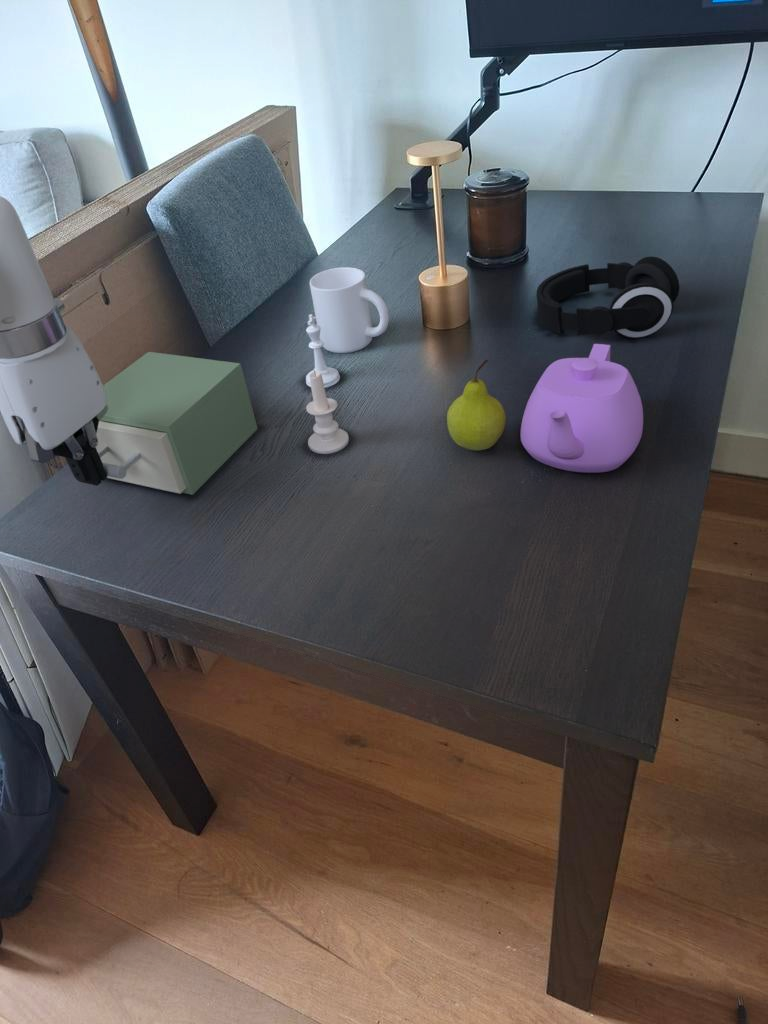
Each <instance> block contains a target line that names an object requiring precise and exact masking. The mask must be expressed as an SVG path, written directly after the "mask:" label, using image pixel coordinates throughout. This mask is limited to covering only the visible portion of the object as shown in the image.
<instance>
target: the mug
mask: <svg viewBox="0 0 768 1024" xmlns="http://www.w3.org/2000/svg"><path fill="white" fill-rule="evenodd" d="M309 289H310V293H311V294H310V295H311V298H312V304H313V311H314V317H316V320H315V322H316V325H318V326H320V328H321V330H320V337H319V340H321V341H323V343H324V345H323V346H322V348H323V349H324V350H326V351H327V352H329V353H334V354H350V353H354V352H358V351H360V350H363V349H364V348H366V347H368V345H370V344H371V342H372V340H373V338H375V337H379V336H382V334H384V333H385V332H386V331H387V328H388V327H389V320H390V316H389V310H388V307H387V305H386V303H385V301H384V300H383V298H382V297H381V296H380V294H378V293H376V292H375V291H374V290H371V289H368V285H367V277H366V273H365V271H363V270H362V269H361V268H360V269H359V268H357V267H351V266H349V267H348V266H343V267H342V266H341V267H334V268H330V269H326V270H322V271H320V272H317V273H316V274H314V275H313V276H312V277H311V278H310V279H309ZM370 303H372V304H373V305H374V306H375V307H376V309H377V311H378V314H379V323H378V325H377V326H373V322H372V316H371V307H370Z"/></svg>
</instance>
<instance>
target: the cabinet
mask: <svg viewBox="0 0 768 1024" xmlns="http://www.w3.org/2000/svg"><path fill="white" fill-rule="evenodd" d="M103 387H104V390H105V393H106V397H107V403H106V405H107V406H108V411H107V413H106V414H105V415H104V416H103V418H102V419H101V420H102V421H107V422H113V423H118V424H124V425H129V426H135V427H141V428H146V429H152V430H157V431H163V432H165V433H167V435H168V438H169V441H170V443H171V446H172V449H173V452H174V455H175V458H176V460H177V463H178V466H179V469H180V472H181V474H182V477H183V480H184V483H185V486H186V489H185V490H184V491H183V492H182V493H181V494H187V495H191V496H193V495H195V493H196V492H198V491H199V490H200V488H202V486H203V485H204V484H205V483H206V482H208V480H209V479H210V478H211V477H212V476H213V475H214V474H215V473H216V472H217V471H218V470H219V469H220V468H221V467H222V466H223V465H224V464H225V463H226V462H227V461H228V460H229V459H230V458H231V457H232V456H233V455H234V454H235V453H236V452H237V451H238V449H240V448H241V447H242V446H243V444H245V443H246V441H248V440H249V438H251V437H252V436H253V434H254V433H256V431H257V430H259V429H258V424H257V420H256V417H255V414H254V410H253V406H252V402H251V398H250V395H249V394H250V393H249V391H248V386H247V384H246V378H245V376H244V371H243V368H242V364H241V363H239V362H231V361H225V360H216V359H208V358H203V357H202V358H201V357H193V356H185V355H177V354H170V353H161V352H156V351H155V352H153V351H147V352H146V353H145V354H144V355H143V354H142V356H141V357H139V358H138V359H137V360H135V361H134V362H133V363H131V364H130V365H128V366H127V367H126V368H125V369H123V370H122V371H121V372H119V373H118V374H116V375H115V376H114V377H113V378H111V379H110V380H108V381H107V382H106V383H104V384H103Z"/></svg>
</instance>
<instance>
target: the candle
mask: <svg viewBox="0 0 768 1024" xmlns="http://www.w3.org/2000/svg"><path fill="white" fill-rule="evenodd" d="M313 370H314V369H313ZM310 383H311V387H310V390H311V395H312V401H310V402H308V403H307V405H306V407H305V410H306V412H307V413H308V414H309V415H312V416H314V420H315V424H314V425H313V427H312V430H313V433H312V434H311V435H310V437H308V440H307V445H308V448H309V450H310V451H311V452H314V453H316V454H320V455H328V454H334V453H337V452H339V451H341V450H343V449H344V448H345V447H346V446H347V445H348V444H349V441H350V436H349V434H348V432H347V431H345V430H344V429H342V428H339V423H338V422H337V421H336V420H334V415H333V413H332V412H334V411H335V410H336V409H337V407H338V401H336V399H333V398H330V397H327V393H326V388H324V383H323V379H322V375H321V372H320V371H315V370H314V372H313V373H311V374H310Z"/></svg>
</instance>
